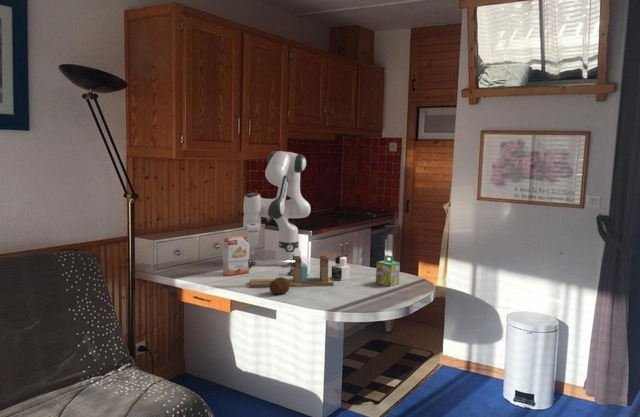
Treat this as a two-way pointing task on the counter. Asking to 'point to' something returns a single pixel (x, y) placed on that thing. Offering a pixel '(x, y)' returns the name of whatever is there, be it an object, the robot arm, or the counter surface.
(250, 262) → the shaft
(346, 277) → the medicine bottle
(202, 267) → the counter surface
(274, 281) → the potato
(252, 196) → the robot arm
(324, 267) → the shaft stand
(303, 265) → the teal holed block
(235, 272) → the cracker box
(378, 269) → the chalk box
